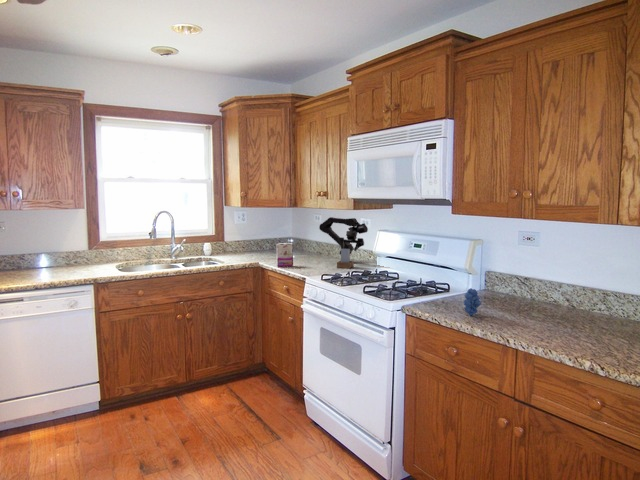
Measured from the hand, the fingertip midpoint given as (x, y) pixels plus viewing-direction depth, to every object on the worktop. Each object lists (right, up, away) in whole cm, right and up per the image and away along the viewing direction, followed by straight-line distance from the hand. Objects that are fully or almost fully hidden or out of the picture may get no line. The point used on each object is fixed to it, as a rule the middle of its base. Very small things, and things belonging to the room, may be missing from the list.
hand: (348, 250), depth 319 cm
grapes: (+45, -25, -129) cm, 139 cm away
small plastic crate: (-3, -11, -6) cm, 13 cm away
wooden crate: (-3, -12, -6) cm, 14 cm away
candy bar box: (-45, -11, -4) cm, 47 cm away
